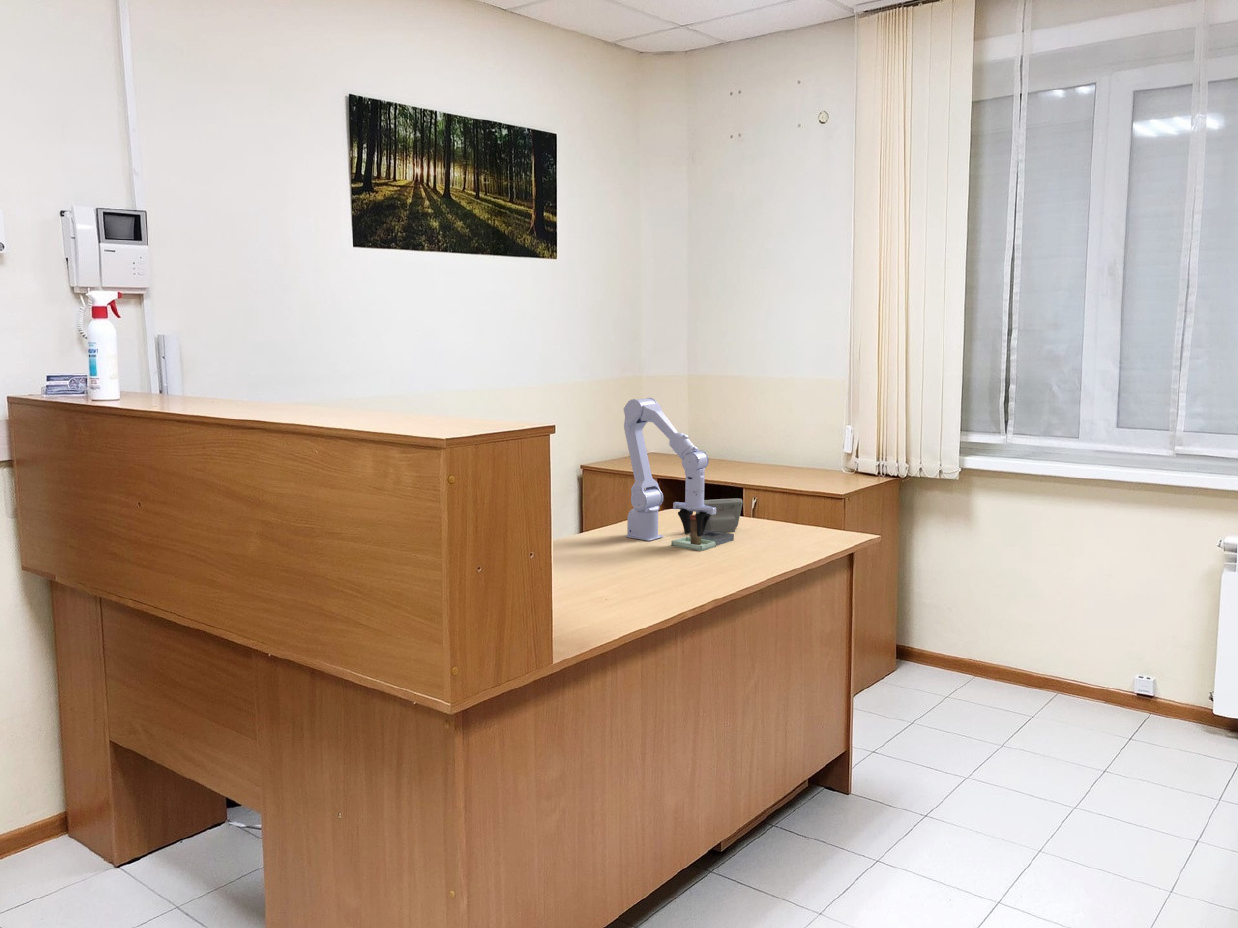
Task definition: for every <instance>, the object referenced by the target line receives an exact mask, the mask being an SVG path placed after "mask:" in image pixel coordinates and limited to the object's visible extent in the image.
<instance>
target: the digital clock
mask: <svg viewBox="0 0 1238 928" xmlns="http://www.w3.org/2000/svg"><path fill="white" fill-rule="evenodd" d="M743 502H744V501H743V499H742V498H720V499H719V498H718V499H704V505H707V506H710V507H715V508H716V514H714V515H711V516H710V518H709V519H708V521H707V524H706V526H705V529H704V530H713V531H719V532H725V533H735V532H736V528H738V526H739V523H740V522H739V521H740V517H741V511H742V507H743ZM698 513H699V512H695V514H698Z"/></svg>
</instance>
